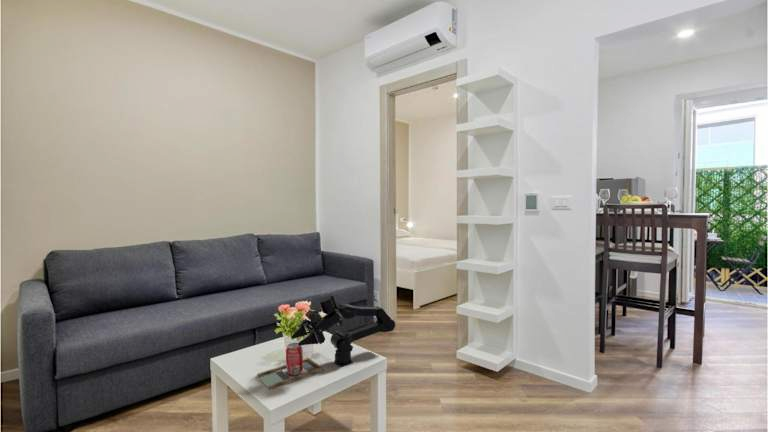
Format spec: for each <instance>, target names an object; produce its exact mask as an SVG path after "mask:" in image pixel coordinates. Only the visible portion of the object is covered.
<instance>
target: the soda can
mask: <svg viewBox="0 0 768 432" xmlns="http://www.w3.org/2000/svg"><path fill="white" fill-rule="evenodd" d="M298 343H299V342H292V343H288V345H287V346H286V349H285V360H286V361H285V365H286V367H287V368H286V372H287V373H286V374H288V375H291V376H298V375H300V374H301V373H302V372H303V370H304V367H303V359H304V353H303V352H304V351H303V347H302V345H301V346H299V345H298Z"/></svg>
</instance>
